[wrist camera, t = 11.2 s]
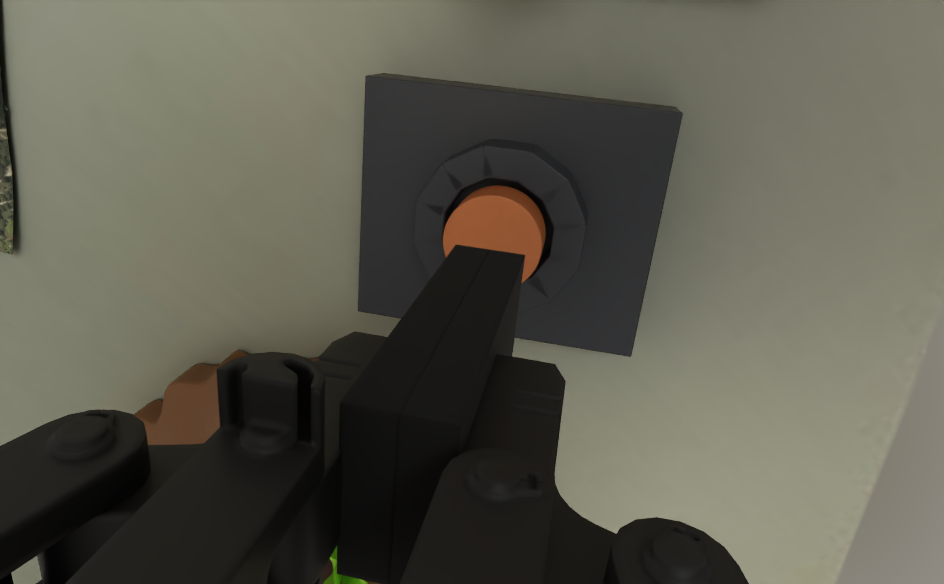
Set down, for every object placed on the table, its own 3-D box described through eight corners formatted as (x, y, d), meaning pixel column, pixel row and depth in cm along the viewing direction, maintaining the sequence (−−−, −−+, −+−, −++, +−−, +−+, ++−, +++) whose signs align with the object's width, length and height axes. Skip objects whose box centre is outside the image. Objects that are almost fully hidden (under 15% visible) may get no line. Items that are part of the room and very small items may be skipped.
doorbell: (676, 106, 25) (689, 117, 22) (628, 335, 29) (633, 377, 25) (382, 72, 27) (348, 77, 23) (373, 293, 31) (342, 328, 27)
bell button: (552, 191, 24) (548, 202, 22) (539, 282, 25) (534, 298, 24) (456, 178, 24) (446, 188, 23) (448, 268, 26) (438, 283, 24)
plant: (539, 636, 36) (515, 869, 26) (239, 644, 41) (120, 844, 31) (451, 312, 30) (375, 451, 20) (112, 368, 35) (-90, 502, 25)
